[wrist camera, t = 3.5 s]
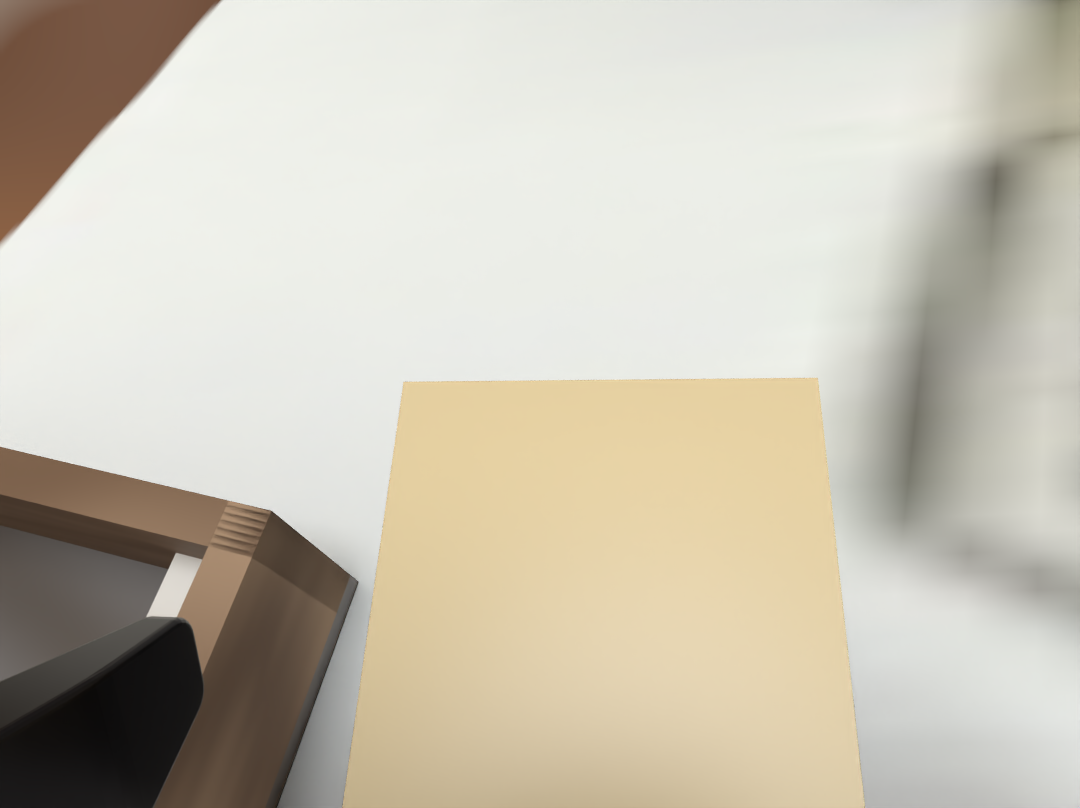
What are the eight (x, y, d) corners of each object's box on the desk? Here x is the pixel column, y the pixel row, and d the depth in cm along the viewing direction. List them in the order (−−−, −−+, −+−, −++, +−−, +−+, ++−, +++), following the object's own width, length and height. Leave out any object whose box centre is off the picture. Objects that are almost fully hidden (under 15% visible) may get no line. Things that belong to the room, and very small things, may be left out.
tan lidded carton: (749, 840, 14) (871, 867, 6) (503, 825, 15) (338, 831, 7) (736, 592, 16) (817, 377, 8) (519, 586, 17) (403, 382, 9)
